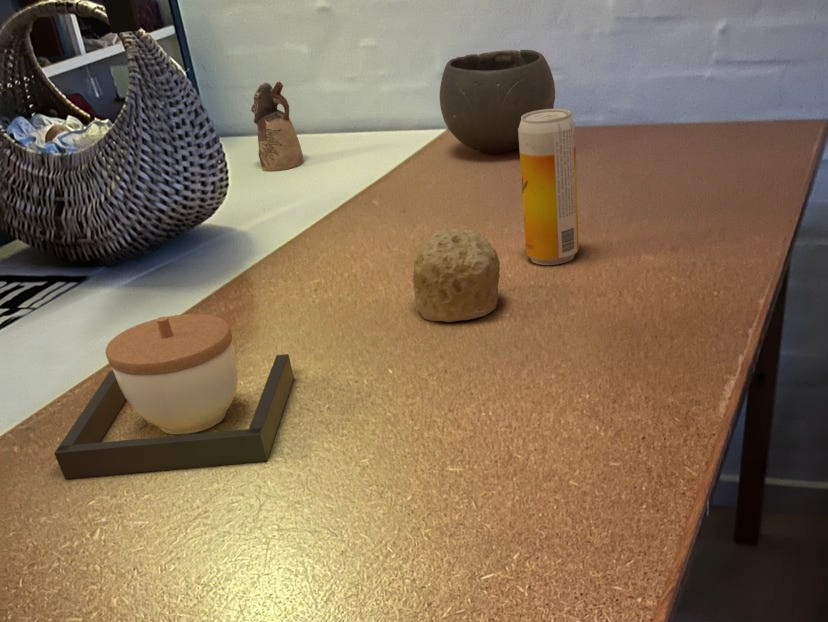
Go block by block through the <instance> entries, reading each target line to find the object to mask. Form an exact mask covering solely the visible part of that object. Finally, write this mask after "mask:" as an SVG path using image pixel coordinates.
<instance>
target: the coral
mask: <svg viewBox="0 0 828 622" xmlns="http://www.w3.org/2000/svg"><path fill="white" fill-rule="evenodd" d="M500 263H501V262H500V259H499V256H498V251H497V250H496V248H495V247H493V246H492V244H491V242H490V241H489V240H488V237H486V236H485V235H482V234H481V233H478V232H476V231H475V230H470V229H464V230H463V229H461V228H453V229H451V230H449V229H439V230H437V231H435V232H434V233H432V235H430V236H427V238H425V239H424V241H423V245H422V246H420V247H419V251H418V253H417V255H416V258H415V259H414V260H413V267H414V268H413V272H412V287H413V292H414V293H413V294H414V298H415V302H416V304H417V309H418V311H419V313H420V315H421V316H422V318H424V319H425V320H427V321H432V322H446V323H452V322H459V321H468V320H473V319H474V320H475V319H477V318H482V317H484V316H486V315H488V314H491V312H493V311H495V310H496V308H497V305H498V300H499V284H500V283H499V282H500V275H501V274H500V272H501V271H500V270H501V269H500V266H501V265H500Z"/></svg>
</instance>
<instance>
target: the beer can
mask: <svg viewBox="0 0 828 622" xmlns="http://www.w3.org/2000/svg"><path fill="white" fill-rule="evenodd" d="M518 135H519V148H518V149H519V164H520V179H521V195H522V211H523V223H524V224H523V226H524V240H525V243H524V244H525V254H526V255H527V256H528V257H529V259H530V260H531V262H532V263H534V264H535V265H541V266H555V265H561V264H566V263H568V262H570V261H572V260H573V259H574V258H575V255H576V254H577V252H578V251H579V249H580V246H579V243H580V242H579V216H578V215H579V213H578V211H579V210H578V185H577V184H578V183H577V182H578V181H577V180H578V179H577V151H576V147H577V146H576V124H575V121H574V119H573V117H572V112H571V111H570V110H568V109H564V108H553V109H544V110H537V111H532V112H529V113H526V114H524V115H522V116H521V122H520V125H519V128H518Z"/></svg>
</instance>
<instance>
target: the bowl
mask: <svg viewBox="0 0 828 622" xmlns="http://www.w3.org/2000/svg"><path fill="white" fill-rule="evenodd" d="M555 100H556V85H555V81H554V76H553V73H552V70H551V67H550V65H549V62H548V61H547V59H546V57H545V56H544V55H543V54H542V52H540V51H539V52H538V51H536V50H533V49H519V50H517V49H514V50H513V49H510V50H509V49H505V50H494V51H489V52H482V53H479V54H477V53H474V54H473V53H472V54H470V53H469V54H466V55H463V56H457V57H454V58H452V59H450V60H448V61H447V63H446V64H445V67H444V68H443V72H442V76H441V81H440V86H439V107H440V112H441V115H442V118H443V121H444V123H445V126H446V127H447V129H448V130H449V132H450V133H451V134H452V135H453V136H454V138H456V139H457V141H459V142H460V143H461V144H463V145H464V146H466V147H468V148H470V149H472V150H474V151H477V152H481V153H486V154H501V153H502V154H503V153H507V152H511V151H514V150H516V149H519V135H518V128H519V125H520V122H521V116H522V115H524V114H526V113H529V112H532V111H537V110H544V109H555V108H554V106H555Z"/></svg>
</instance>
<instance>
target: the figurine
mask: <svg viewBox="0 0 828 622" xmlns="http://www.w3.org/2000/svg"><path fill="white" fill-rule="evenodd" d="M283 87H284V84H283V83H282V82H281V81H279V80H278V81H276V83H275V85H274V87H273V86H272V85H271V84H270V83H269V82H263V83H262V84H260V85H259V86H258V88H257V89H256V91H255V92H254V95H253V104H252V105H251V108H250V109H251V110H250V111H251V112H252V113H253V114H254V118H253V121H252V122H253V124H255V125H256V127H257V131H256V132H257V133H256V134H257V143H258V159H259V163H260V168H261V170H262V171H265V172H277V171H284V170H289V169H293V168H297V167H299V166H301V165H302V164H303V162H304V155H303V150H302V146H301V143H300V139H299V138H298V135H297V132H296V130H295V127H294V125H293V122H292V120H291V119H290V105H289V102H288V100H287V99H286V97H285V96H284V95H282V90H283ZM278 105H282V108H283V109H284V110H283V111H282V110H280V109H278Z"/></svg>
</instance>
